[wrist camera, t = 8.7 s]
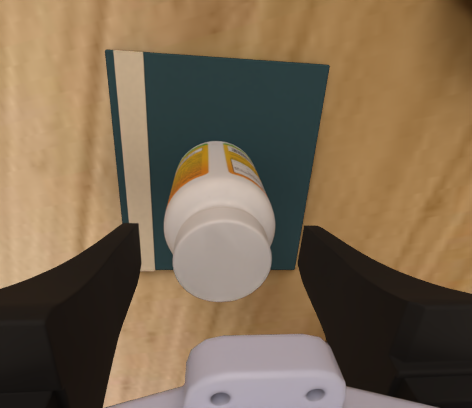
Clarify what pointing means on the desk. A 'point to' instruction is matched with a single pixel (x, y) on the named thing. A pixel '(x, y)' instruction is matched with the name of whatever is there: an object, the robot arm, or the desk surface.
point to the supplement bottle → (219, 223)
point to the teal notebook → (212, 134)
